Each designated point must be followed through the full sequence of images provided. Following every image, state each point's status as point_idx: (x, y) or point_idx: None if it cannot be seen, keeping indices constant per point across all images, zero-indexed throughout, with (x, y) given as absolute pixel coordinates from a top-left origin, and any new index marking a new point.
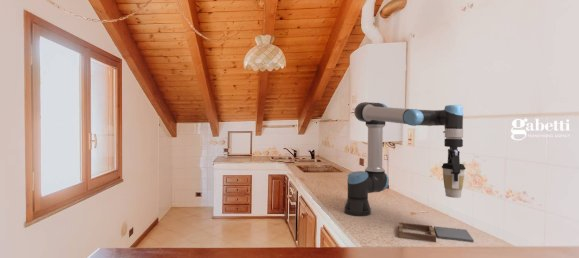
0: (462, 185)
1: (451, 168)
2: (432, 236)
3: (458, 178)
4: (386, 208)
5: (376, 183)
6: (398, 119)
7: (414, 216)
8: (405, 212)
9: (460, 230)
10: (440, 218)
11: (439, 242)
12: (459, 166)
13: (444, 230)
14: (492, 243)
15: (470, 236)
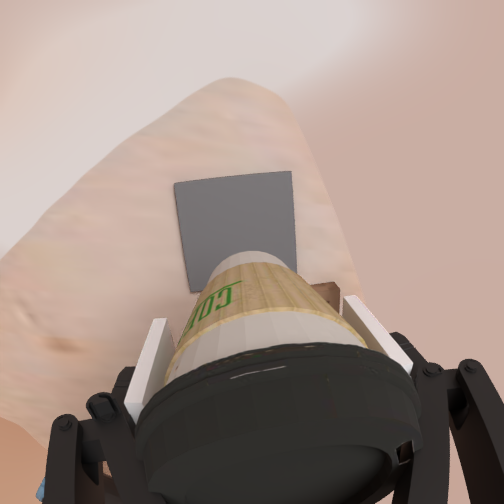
0: (284, 273)
1: (397, 453)
2: (339, 298)
3: (392, 341)
4: (70, 405)
5: (112, 498)
6: None
7: (91, 343)
8: (69, 364)
9: (196, 204)
10: (61, 264)
11: (332, 272)
12: (502, 404)
13: (224, 259)
14: (273, 112)
15: (255, 176)
